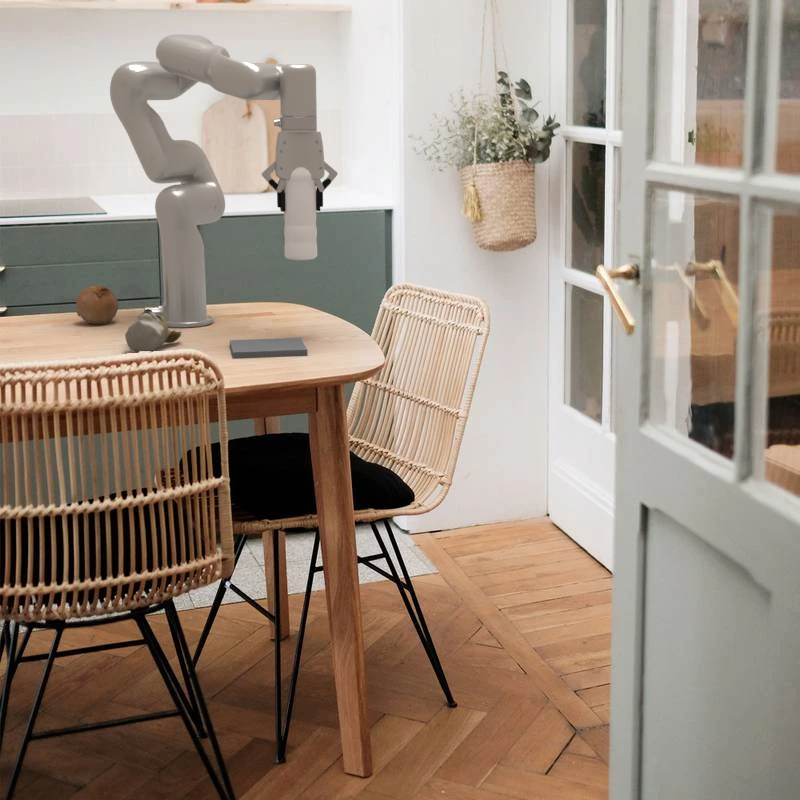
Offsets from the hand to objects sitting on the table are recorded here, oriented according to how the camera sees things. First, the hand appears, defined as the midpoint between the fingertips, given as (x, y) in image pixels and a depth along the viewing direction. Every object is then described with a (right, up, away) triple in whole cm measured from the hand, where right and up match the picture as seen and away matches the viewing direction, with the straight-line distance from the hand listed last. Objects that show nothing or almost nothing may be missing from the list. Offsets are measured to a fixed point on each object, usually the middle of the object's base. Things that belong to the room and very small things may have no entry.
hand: (300, 210), depth 273 cm
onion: (-49, -23, +24) cm, 59 cm away
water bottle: (0, -10, +3) cm, 10 cm away
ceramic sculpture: (-31, -30, -4) cm, 43 cm away
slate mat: (-6, -30, -7) cm, 32 cm away
